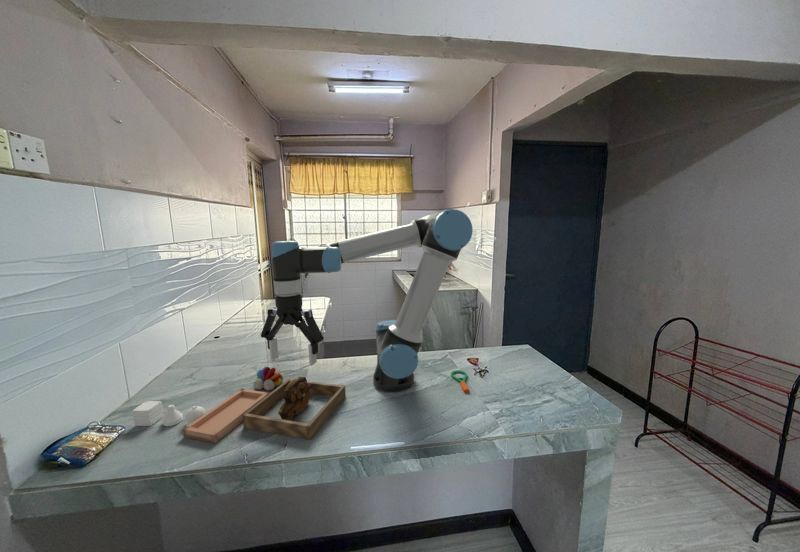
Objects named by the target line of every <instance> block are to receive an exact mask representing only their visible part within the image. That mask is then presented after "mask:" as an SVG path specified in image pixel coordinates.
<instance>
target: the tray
mask: <svg viewBox="0 0 800 552" xmlns="http://www.w3.org/2000/svg"><path fill="white" fill-rule="evenodd" d="M269 394H270V392H266V391H259V390H258V391H257V390H254V389H247V388H246V389H244V388H241V389H240V390H238V391H236V392H235V393H234V394H232V395H231V396H229V397H228V398H226V399H224V400H223V401H221V402H220V403H219V404H217V405H216V406H214V407H213V408H211V409H210V410H208V411H207V412H206V413H205V414H204V415H203V416H201V417H200V418H198V419H197V420H195V421H194V422H192V423H191V424H189V425H188V426H186V425H185V426H184V428H182V433H183V438H186V439H192V440H196V441H197V440H198V441H200V442H201V441H202V442H206V443H210V444H217V443H218V442H220V440H221V439H223V438H224V437H225V436H227V435H228V434H229V433H231V432H232V431H233V430H234V429H236V427H238V426H239V425H241V423H243V418H242V415H243V414H244V413H245V412H247V411H248V410H249V409H251V408H252V407H253V406H254V405H256V404H257V403H258V402H260V401H261V400H262V399H263V398H265V397H266V396H267V395H269Z"/></svg>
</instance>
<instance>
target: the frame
mask: <svg viewBox="0 0 800 552" xmlns="http://www.w3.org/2000/svg"><path fill="white" fill-rule="evenodd" d="M294 379H295V378H294ZM294 379H293V378H288V379H286V380H285V381H283V383H281V384H279V385H278V386H276V388H275V389H273V390H271V392H269V395H267V396H266V397H265V398H263V399H262V400H261V401H260V402H258V403H257V404H256V405H254V406H253V407H252V408H251V409H249V410H248V411H247V412H245V413H244V414H243V415H242V418H243V422H242V426H243V428H244V429H250V430H254V431H255V430H256V431H260V432H267V433H272V434H276V435H282V436H286V437H293V438H298V439H299V438H300V439H303V440H309V441H311V440H312V439H313V438H314V436H315V435H316V434H317V433H318V432H319V430H320V429H322V427H323V425H324V424H325V423H326V422H327V420H328V419H329V418H330V417H331V416H332V414H333V413H334V412H335V411H336V409H337V408H338V407H339V406H340V405H341V403H342V402H343V401H344V400H345V398H346V397H347V396H346V394H347V393H346V385H342V384H335V383H334V384H332V383H325V382H316V381H310V380H307V384H312V387H311V389H310V392H311V395H317V396H324V397H330V399H329V400H328V401H327V402H326V403H325V405H324V406H322V407H321V409H320V410H319V411H318V412H317V413H316V414H315V416H313V418H312V419H311V420H310V421H309V422H308V423H306V422H299V421H294V420H291V421H289V420H283V419H282V418H277V417H276V418H275V417H270V416H265V415H264V414H265V413H266V412H268V411H269V410H270V409H271V408H272V407H273V406H275V405H276V403H278V402H279V401H280V400H281V399H283V390H285V389H286V387H287V385H288V383H289V382H290V381H291V380H294ZM263 415H264V416H263Z"/></svg>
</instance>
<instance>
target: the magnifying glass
mask: <svg viewBox="0 0 800 552" xmlns="http://www.w3.org/2000/svg"><path fill="white" fill-rule="evenodd" d="M456 374H460V375H464V376H463V377H458V376H454V375H456ZM450 376H451V378H452V379H453V380H455V381H456V382H457V383H459V384H460V386H461V389H462V391H463V393H465V394H468V393H470V389H469V387H468V385H467V383H466V381H467V379H468V374H467V372H465V371H463V370H453V371H452V372H451V373H450Z"/></svg>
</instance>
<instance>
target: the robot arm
mask: <svg viewBox="0 0 800 552" xmlns="http://www.w3.org/2000/svg"><path fill="white" fill-rule="evenodd" d="M472 236H473V223H472V222H471V219H470V218H469V216H468V215H467V214H466V213H465V212H463V211H461V210H459V209H455V208H444V209H442V210H438V211H434V212H432V213H430V214H428V215H425V216H424V217H421V218H416V219H413V220H412V221H411V222H410V223H409V224H404V225H400V226H396V227H391V228H386V229H384V230H379V231H375V232H369V233H366V234H362V235H359V236H355V237H351V238H347V239H342V240H337V241H334V242H329V243H324V244H320V245H318V247H315V246H314V247H300V245H299V242H298V241H296V240H281V241H274V242H272V243H271V246H270V247H271V249H270V250H271V257H270V259H271V265H272V274H273V276H272V277H273V291H274V295H275V296H274V298H275V299H274V302H275V306H274V307H271V308H269V309H267V317H266V320H265V322H264V325H263V328H262V330H261V334H260V337H261V338H263V339H265V340H266V341H267V349H268V350H269V357H270V361H271V362H274V361H275V360H278V359H279V350H278V349H279V348H278V338H277V337H276V335H277V333H279V331H280V329H281V328H282V326H283V325H284V326H285V325H286V326H287V325H289V326H295V327H296V328H297V329H299V330H300V332H301V333H302V334H303V335H304V337H305V338H306V339H307V341H309V344H308V359H309V366H311V367H312V366H314V365H315V364H316V363H317V362H318V360H317V354H318V353H319V343H321V342H322V341H323V340H324V336H323V333H322V331H321V330H320V327H319V325H318V323H317V321H316V320H315V318H314V315H313V314H314V313H313V310H312V309H308V310H303V308H302V307H303V294H302V293H301V292H302V280H301V274H318V273H319V274H323V273H325V274H326V273H327V274H331V273H339V272H340V271H341V269H342V264H346V263H349V262H354V261H357V260H361V259H365V258H369V257H370V258H371V257H373V256H377V255H382V254H386V253H390V252H394V251H399V250H403V249H406V248H411V247H418V248H419V249H420V248H421V249H422V250H423V254H422V255H421V256H422V257H420V258H421V259H420V261H419V263H418V266H417V268H416V271H415V274H414V276H413V278H412V281H411V283H410V285H409V289H408V291H407V292H406V293H407V294H406V295H405V298H404V300H403V303H402V306H401V309H400V310H399V313H398V315H397V318H396V319H390V320H389V319H388V320H387V319H386V320H381V321H379V322H378V323H376V325H375V332H376V358H377V359H376V360H377V362H376V366H375V370H374V373H373V375H372V376H373V379H372V382H373V386H374V387H375V388H376V389H378V390H380V392H381V391H383V392H386V393H399V392H403V391H407V390H409V389H410V388H412V387H413V386H414V384H415V374H414V372H415V371H416V370H417V368H418V365H419V355H418V353H419V351H420V348H421V346H422V343H423V342H424V341H423V340H424V339H423V337H422V334H421V333H422V331H423V329H424V326H425V324H426V322H427V319H428V316H429V314H430V312H431V309H432V307H433V304H434V303H435V300H436V297H437V295H438V293H439V289H441V286H442V283H443V280H444V279H445V276H446V274H447V271H448V269H449V267H450V264H451V263H453V262H455V261H457V260H458V258H459V255H460V252H461V250H462V249H463V248H464V247H466V246H467V245H468V244H469V242H470V241H471V239H472ZM276 317H278V318H277V320H276ZM275 320H276V322H275ZM274 323H275V324H274Z"/></svg>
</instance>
